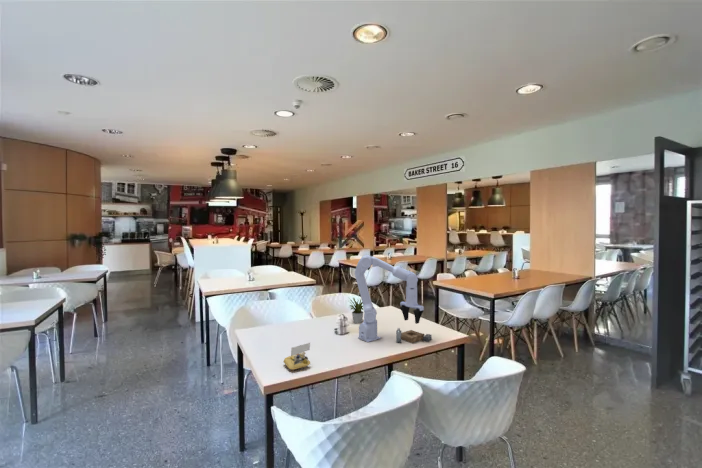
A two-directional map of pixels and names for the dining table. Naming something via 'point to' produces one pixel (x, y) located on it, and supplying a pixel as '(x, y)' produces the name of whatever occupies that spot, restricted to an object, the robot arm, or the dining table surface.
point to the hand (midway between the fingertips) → (411, 321)
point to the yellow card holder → (298, 357)
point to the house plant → (357, 311)
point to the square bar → (427, 337)
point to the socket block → (412, 336)
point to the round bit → (398, 335)
